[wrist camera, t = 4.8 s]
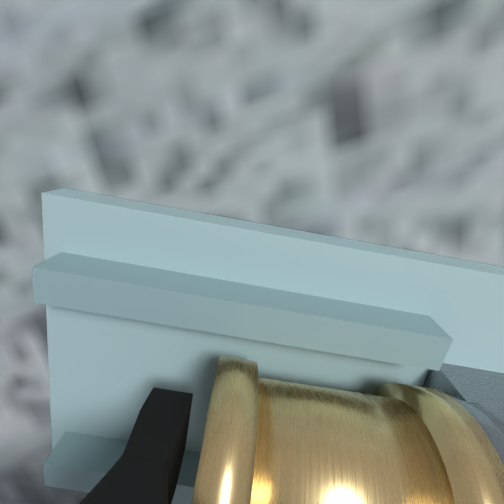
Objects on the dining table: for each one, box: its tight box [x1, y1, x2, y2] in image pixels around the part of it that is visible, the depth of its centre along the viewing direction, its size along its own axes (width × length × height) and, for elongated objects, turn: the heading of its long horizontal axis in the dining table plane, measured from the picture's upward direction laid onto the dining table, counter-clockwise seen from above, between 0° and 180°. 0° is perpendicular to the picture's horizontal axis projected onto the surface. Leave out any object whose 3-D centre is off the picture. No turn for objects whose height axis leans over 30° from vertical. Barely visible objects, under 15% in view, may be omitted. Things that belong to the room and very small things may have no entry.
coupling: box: [192, 356, 504, 504], centre depth 8 cm, size 6×5×5 cm
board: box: [32, 188, 504, 504], centre depth 10 cm, size 11×15×2 cm
